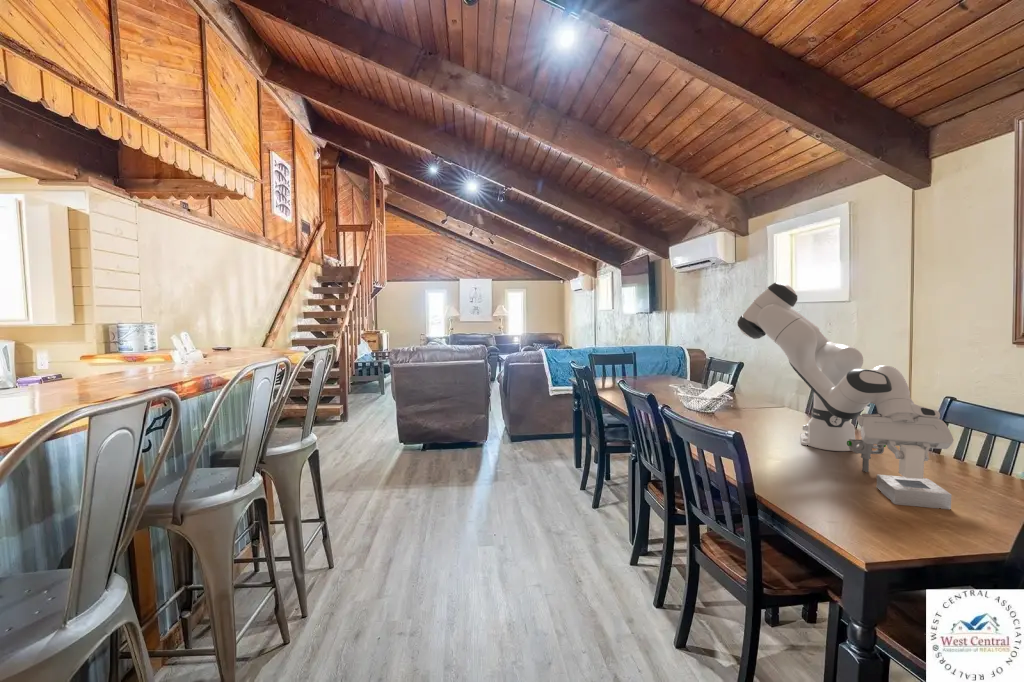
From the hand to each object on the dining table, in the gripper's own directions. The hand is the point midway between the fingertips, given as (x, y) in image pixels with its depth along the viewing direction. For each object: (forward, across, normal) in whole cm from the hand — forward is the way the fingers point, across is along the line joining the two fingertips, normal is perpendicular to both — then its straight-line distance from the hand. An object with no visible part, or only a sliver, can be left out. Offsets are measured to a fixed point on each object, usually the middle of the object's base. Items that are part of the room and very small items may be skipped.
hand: (912, 458), depth 129 cm
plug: (+3, 0, +4) cm, 5 cm away
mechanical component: (-7, -4, +23) cm, 25 cm away
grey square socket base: (+7, 0, +8) cm, 11 cm away
